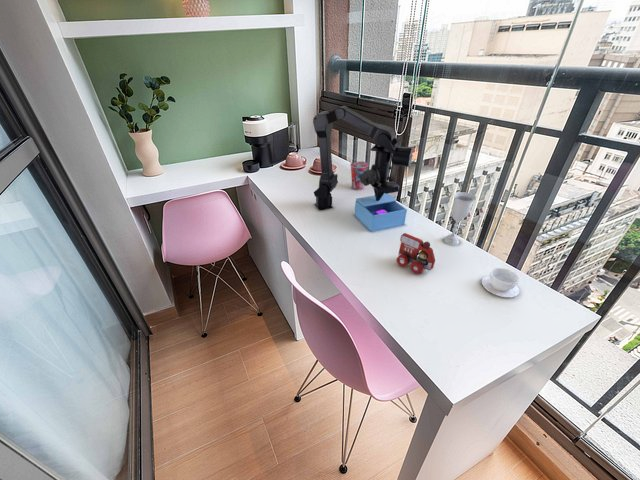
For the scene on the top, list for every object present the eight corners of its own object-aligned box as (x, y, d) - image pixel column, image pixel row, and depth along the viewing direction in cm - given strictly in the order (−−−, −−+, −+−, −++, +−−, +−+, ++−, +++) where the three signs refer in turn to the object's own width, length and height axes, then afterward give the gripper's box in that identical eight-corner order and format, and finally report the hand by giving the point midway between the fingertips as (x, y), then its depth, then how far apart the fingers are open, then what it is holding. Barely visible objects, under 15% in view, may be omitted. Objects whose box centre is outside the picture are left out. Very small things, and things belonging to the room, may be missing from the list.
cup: (365, 191, 152) (367, 167, 145) (348, 190, 153) (349, 167, 146) (365, 184, 159) (368, 161, 152) (349, 183, 161) (351, 160, 154)
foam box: (354, 215, 132) (355, 200, 128) (384, 209, 136) (387, 194, 132) (371, 231, 120) (373, 216, 116) (404, 225, 124) (407, 209, 120)
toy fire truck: (425, 278, 96) (432, 252, 90) (391, 262, 104) (396, 236, 98) (435, 269, 100) (443, 242, 94) (402, 254, 108) (407, 228, 102)
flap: (355, 199, 128) (355, 198, 127) (387, 193, 131) (387, 193, 131) (364, 206, 122) (364, 206, 122) (396, 200, 126) (396, 200, 125)
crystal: (385, 223, 124) (387, 213, 122) (372, 222, 126) (373, 211, 123) (386, 217, 128) (388, 207, 126) (373, 216, 130) (374, 206, 127)
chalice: (446, 234, 118) (459, 190, 107) (464, 240, 114) (479, 195, 103) (438, 241, 113) (450, 196, 103) (456, 248, 109) (470, 202, 99)
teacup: (502, 302, 87) (508, 290, 84) (473, 282, 95) (478, 270, 92) (526, 292, 90) (533, 280, 87) (497, 273, 98) (502, 261, 95)
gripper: (352, 158, 122) (349, 194, 131) (375, 174, 107) (371, 213, 116) (377, 155, 124) (373, 190, 133) (403, 170, 110) (396, 209, 119)
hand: (377, 200), depth 125 cm, fingers closed, pressing on flap
